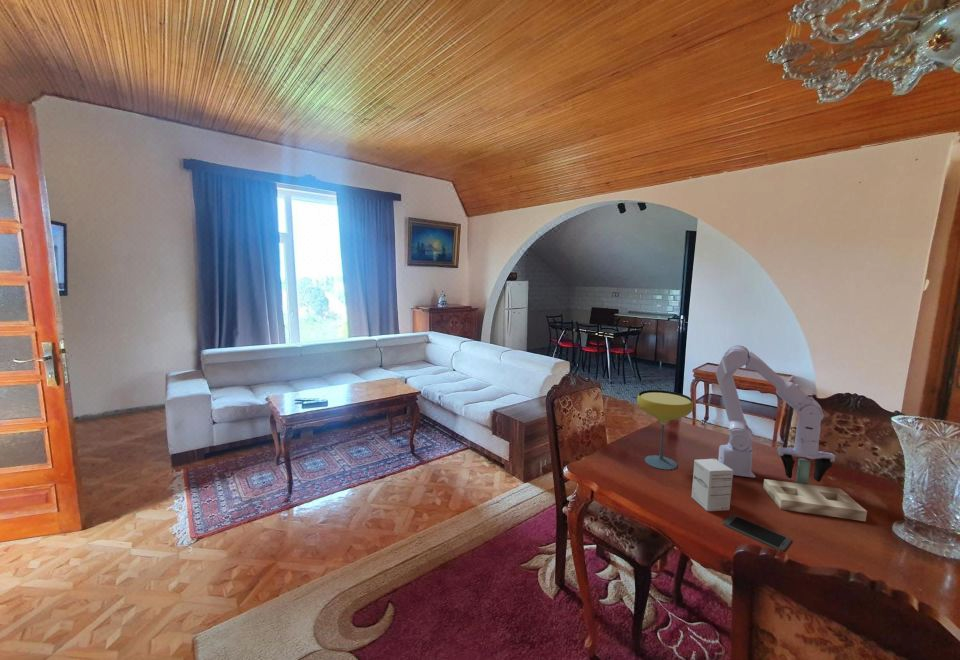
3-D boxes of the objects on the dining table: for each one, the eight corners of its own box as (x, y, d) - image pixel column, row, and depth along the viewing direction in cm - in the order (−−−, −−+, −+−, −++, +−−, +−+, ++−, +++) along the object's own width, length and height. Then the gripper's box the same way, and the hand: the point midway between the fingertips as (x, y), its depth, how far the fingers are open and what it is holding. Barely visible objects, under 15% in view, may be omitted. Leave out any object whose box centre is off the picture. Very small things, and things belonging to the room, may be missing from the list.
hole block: (780, 508, 111) (781, 499, 111) (763, 487, 122) (764, 479, 122) (865, 521, 105) (867, 511, 105) (839, 497, 117) (840, 488, 116)
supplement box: (690, 497, 117) (693, 458, 115) (713, 496, 118) (716, 457, 116) (706, 512, 110) (709, 470, 108) (730, 510, 110) (734, 469, 109)
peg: (798, 488, 122) (801, 462, 121) (793, 484, 125) (796, 458, 123) (809, 490, 121) (812, 463, 120) (804, 485, 124) (807, 459, 123)
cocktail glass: (635, 448, 151) (638, 387, 148) (686, 457, 144) (691, 393, 140) (632, 468, 135) (636, 401, 132) (690, 479, 127) (695, 408, 124)
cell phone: (731, 515, 109) (731, 513, 109) (792, 541, 98) (792, 539, 98) (720, 525, 104) (721, 522, 104) (783, 554, 93) (783, 551, 93)
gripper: (785, 440, 119) (781, 481, 121) (842, 446, 115) (837, 488, 116) (775, 432, 126) (772, 470, 127) (829, 437, 121) (824, 477, 123)
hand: (802, 478), depth 122 cm, fingers open, 7 cm apart
